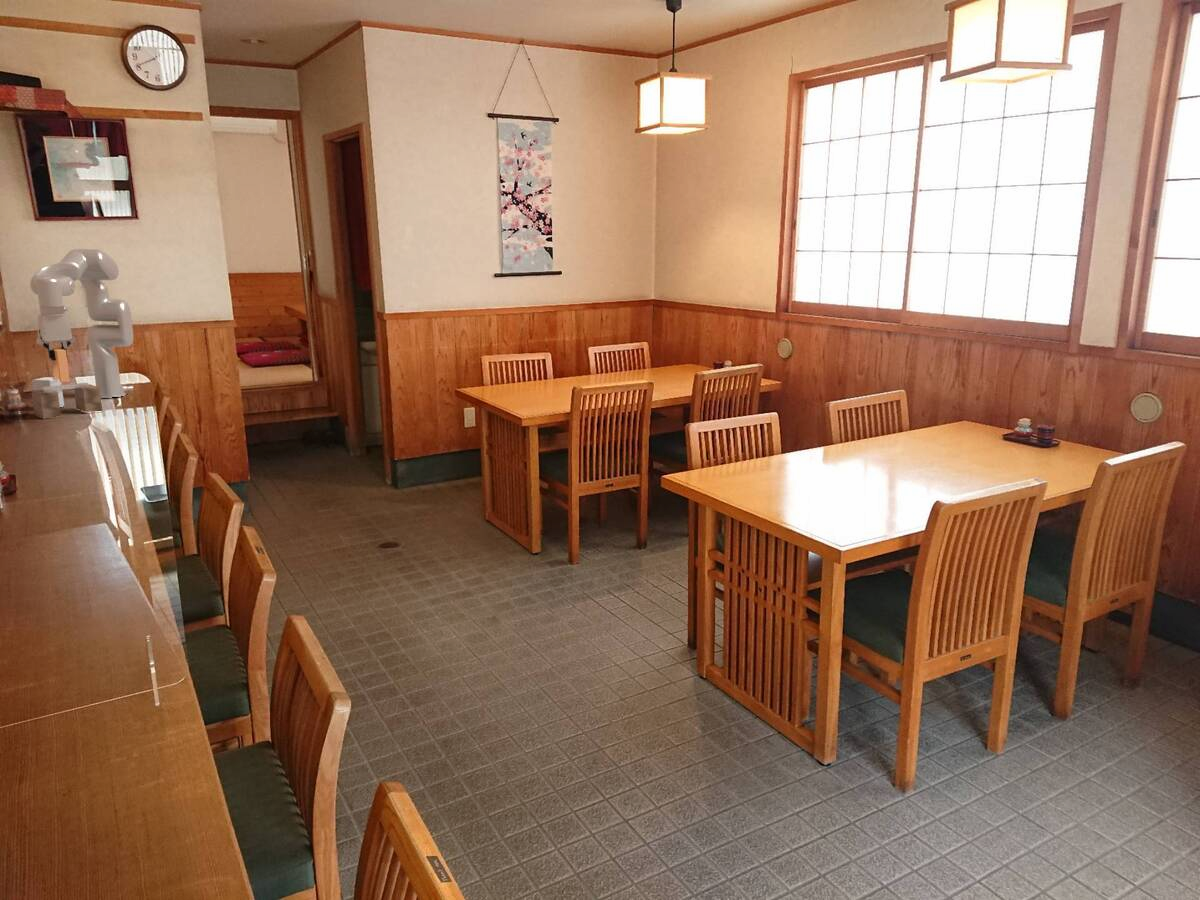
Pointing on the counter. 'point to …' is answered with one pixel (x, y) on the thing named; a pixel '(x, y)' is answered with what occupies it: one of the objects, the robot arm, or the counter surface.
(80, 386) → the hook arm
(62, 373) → the orange wooden block
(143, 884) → the counter surface
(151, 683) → the counter surface
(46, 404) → the shelf
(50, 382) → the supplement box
